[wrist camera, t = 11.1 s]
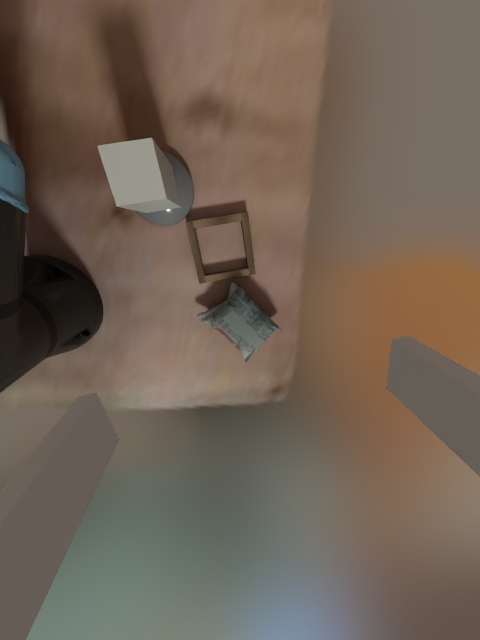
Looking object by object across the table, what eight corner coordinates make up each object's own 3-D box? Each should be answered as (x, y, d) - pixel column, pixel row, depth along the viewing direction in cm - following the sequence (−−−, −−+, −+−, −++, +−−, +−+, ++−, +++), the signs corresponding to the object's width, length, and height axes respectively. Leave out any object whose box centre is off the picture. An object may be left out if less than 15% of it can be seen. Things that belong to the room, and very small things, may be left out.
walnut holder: (200, 281, 37) (199, 283, 36) (186, 222, 34) (185, 222, 32) (254, 272, 37) (255, 273, 36) (246, 212, 34) (247, 211, 33)
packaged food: (243, 354, 43) (247, 369, 38) (197, 312, 39) (195, 322, 34) (278, 324, 41) (286, 335, 37) (234, 276, 37) (237, 283, 33)
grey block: (145, 212, 32) (116, 206, 23) (134, 171, 30) (97, 145, 21) (181, 207, 32) (166, 198, 23) (171, 165, 30) (151, 137, 21)
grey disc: (139, 230, 33) (137, 230, 33) (117, 157, 30) (114, 155, 29) (200, 220, 34) (199, 219, 33) (185, 146, 30) (184, 144, 29)
